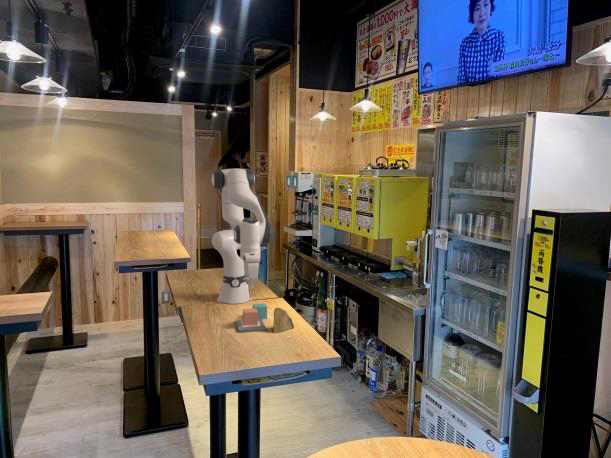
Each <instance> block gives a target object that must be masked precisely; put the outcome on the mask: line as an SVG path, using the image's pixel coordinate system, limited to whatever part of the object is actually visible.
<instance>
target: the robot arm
mask: <svg viewBox="0 0 611 458" xmlns="http://www.w3.org/2000/svg"><path fill="white" fill-rule="evenodd" d="M255 181H256V177H255V174H254V171H253V169H250V168H225V169H221V168H220V169H216V170H214V172H212V175H211V184H212V186H213V188H214V189H215V190H218V191H221V210H222V211H221V214H222V219H223V220H224V221H225V222H227V224H229V225H230V228H231V229H223V230H220V231H217V232H214V234H213V236H212V238H211V244H212V246H213V248H214V250H215V251H216V250H217V252H218V253H219V255H220V256H221V258H222V261H223V276H222V280H223V281H222V282H223V283H222V284H221V286H220V287H219V289H218V291H219V295H218V297H217V299H216V302H218V303H223V304H231V305H233V304H234V305H236V304H243V303H246V302H248V301H252V300H253V298H252V297H251V296H249V288H250V289H254V288H255V281H256V280H258V277H259V269H260V268H259V266H260V265H259V264H260V262H261V246H268V245H270V244H271V243H272V242H273V241H274V239H275V231H274V228H273V226H272V224H271V223H270V221H269V219H268V216H267V214H266V211H265V209H264V206H263V204H262V201H261V200H260V198H259V197H258V196H257V195H255V194H254V193H253V191H252V190H251V189H252V188H253V187H254V185H255ZM244 209H246V210H248V211H250V212H251V213H253V214H254V216H255V218H254V217H244V215H245V214H244ZM238 250H239V251H240V252H239V253H240V255H239V254H238V252H237V251H238Z"/></svg>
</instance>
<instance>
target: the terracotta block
mask: <svg viewBox="0 0 611 458" xmlns="http://www.w3.org/2000/svg"><path fill="white" fill-rule="evenodd" d="M242 319H243V324H244V326H252V325H258V311H257V309H256V308H253V307H252V308H243V309H242Z"/></svg>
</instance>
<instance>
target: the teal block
mask: <svg viewBox="0 0 611 458" xmlns="http://www.w3.org/2000/svg"><path fill="white" fill-rule="evenodd" d="M253 308H256V309H257V311H258V318H261V319H262V320H267V319H268V306H267V305H266V303H252V309H253Z"/></svg>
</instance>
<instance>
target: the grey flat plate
mask: <svg viewBox="0 0 611 458" xmlns="http://www.w3.org/2000/svg"><path fill="white" fill-rule="evenodd" d="M235 325H236V328H237V331H238V333H239V334H240V333H252V332H265V331H267V327H266V324H265V323H264V321H263V319H261V318H258V325H252V326H244V324H243V318H237V319H236V318H235Z"/></svg>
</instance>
